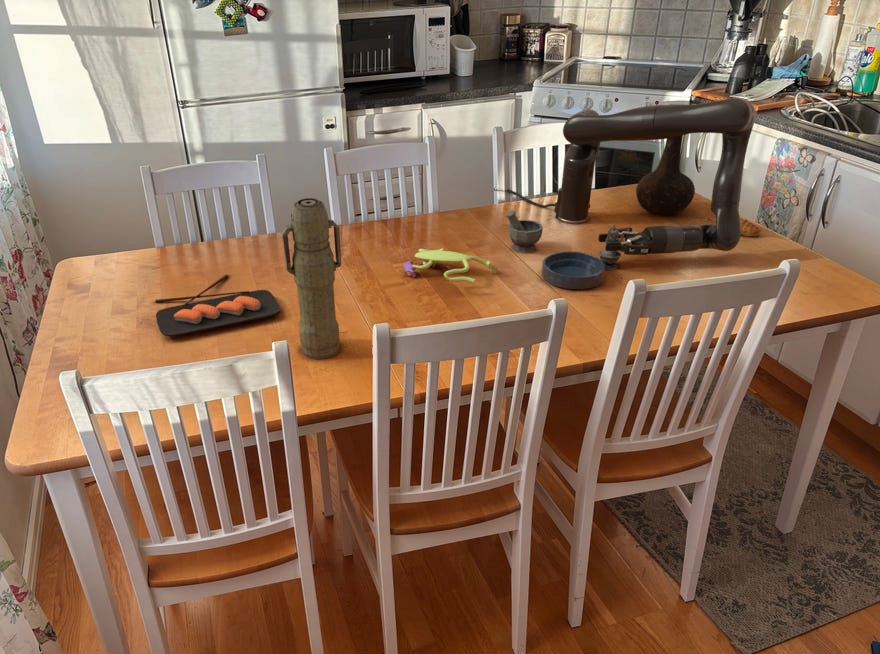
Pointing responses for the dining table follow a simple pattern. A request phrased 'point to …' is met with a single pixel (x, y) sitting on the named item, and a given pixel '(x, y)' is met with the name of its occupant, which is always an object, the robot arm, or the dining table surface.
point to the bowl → (573, 270)
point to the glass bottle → (666, 183)
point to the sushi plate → (215, 311)
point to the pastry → (748, 228)
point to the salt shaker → (610, 256)
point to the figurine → (445, 258)
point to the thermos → (314, 276)
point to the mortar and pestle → (523, 232)
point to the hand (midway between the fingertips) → (602, 242)
